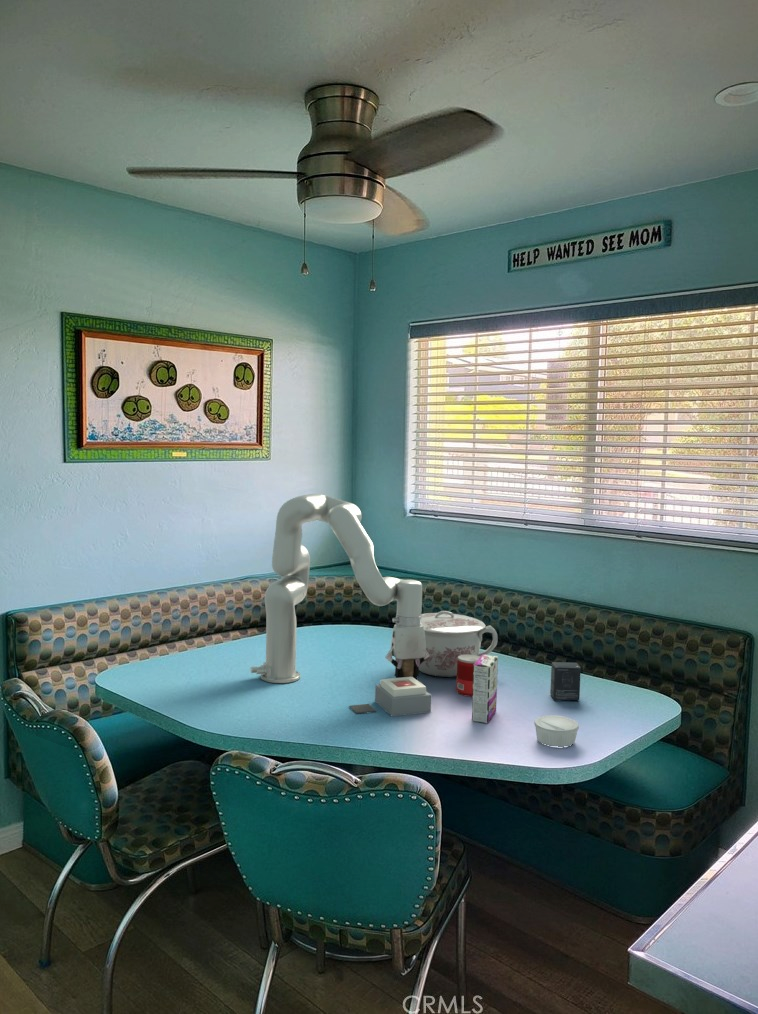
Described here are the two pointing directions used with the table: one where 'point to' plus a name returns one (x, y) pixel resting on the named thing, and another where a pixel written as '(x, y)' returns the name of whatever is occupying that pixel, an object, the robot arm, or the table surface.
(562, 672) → the box
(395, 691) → the grey white square holder
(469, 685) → the canned food
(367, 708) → the coaster
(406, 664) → the brown rounded cylinder
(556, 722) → the ramekin
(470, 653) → the chamber pot
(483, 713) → the candy bar box
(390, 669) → the table surface
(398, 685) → the egg
